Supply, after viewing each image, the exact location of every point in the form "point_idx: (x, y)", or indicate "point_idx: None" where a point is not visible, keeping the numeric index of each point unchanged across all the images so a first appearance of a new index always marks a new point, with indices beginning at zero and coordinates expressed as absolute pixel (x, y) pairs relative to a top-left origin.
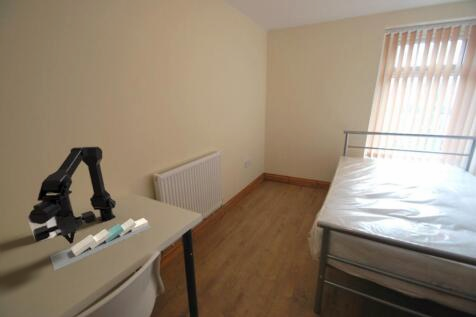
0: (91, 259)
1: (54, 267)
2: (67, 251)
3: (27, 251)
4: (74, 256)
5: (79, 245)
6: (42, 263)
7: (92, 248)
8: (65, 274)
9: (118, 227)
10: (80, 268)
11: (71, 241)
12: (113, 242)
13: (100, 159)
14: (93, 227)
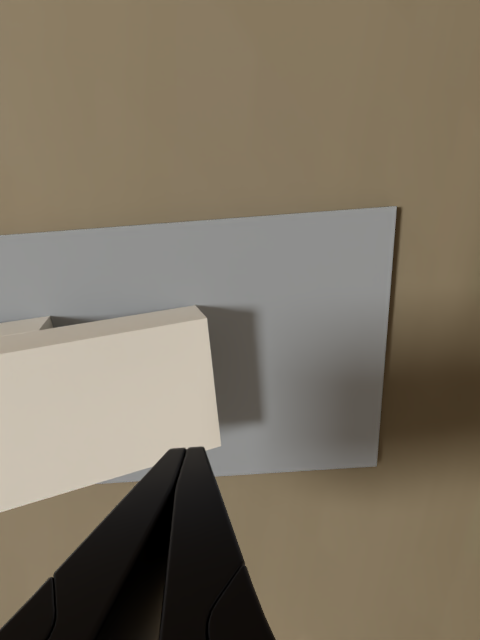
0: (61, 133)
1: (385, 264)
2: (255, 437)
3: (471, 611)
4: (211, 315)
5: (132, 408)
6: (437, 409)
7: (40, 319)
8: (322, 51)
9: None
10: (176, 37)
11: (176, 471)
12: None
13: None
14: None
